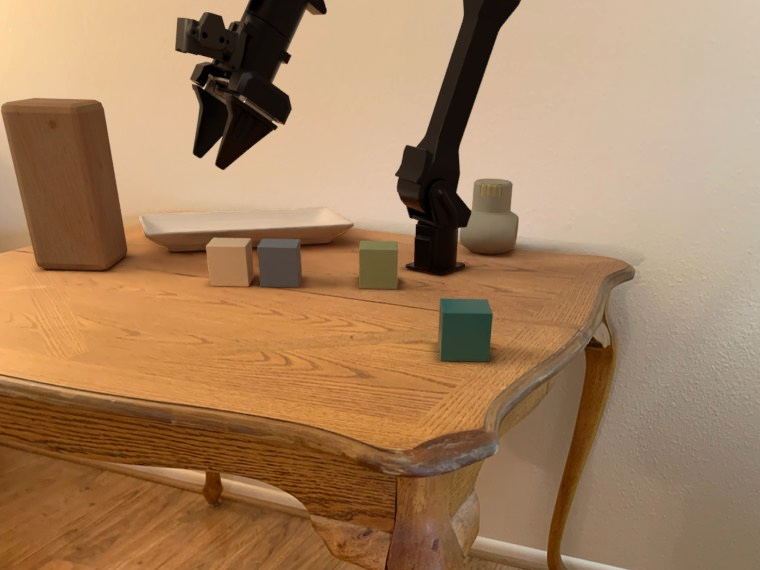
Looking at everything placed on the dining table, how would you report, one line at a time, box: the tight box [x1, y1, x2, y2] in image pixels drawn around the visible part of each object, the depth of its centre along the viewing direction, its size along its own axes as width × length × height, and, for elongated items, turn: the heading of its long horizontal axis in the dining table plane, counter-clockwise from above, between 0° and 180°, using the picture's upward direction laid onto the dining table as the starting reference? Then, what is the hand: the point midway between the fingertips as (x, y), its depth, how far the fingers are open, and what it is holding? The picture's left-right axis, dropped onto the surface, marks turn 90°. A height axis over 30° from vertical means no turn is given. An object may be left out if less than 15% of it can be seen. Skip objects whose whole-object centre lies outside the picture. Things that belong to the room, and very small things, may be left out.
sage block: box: [358, 240, 399, 290], centre depth 101 cm, size 5×5×5 cm
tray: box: [138, 206, 355, 253], centre depth 122 cm, size 17×31×4 cm, turn 110°
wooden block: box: [0, 97, 128, 271], centre depth 103 cm, size 10×10×20 cm
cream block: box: [205, 238, 255, 287], centre depth 101 cm, size 5×5×5 cm
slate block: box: [256, 239, 303, 288], centre depth 101 cm, size 5×5×5 cm
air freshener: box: [459, 178, 519, 255], centre depth 118 cm, size 11×8×10 cm
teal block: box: [437, 298, 494, 362], centre depth 79 cm, size 5×5×5 cm
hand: (207, 162), depth 90 cm, fingers open, 9 cm apart
